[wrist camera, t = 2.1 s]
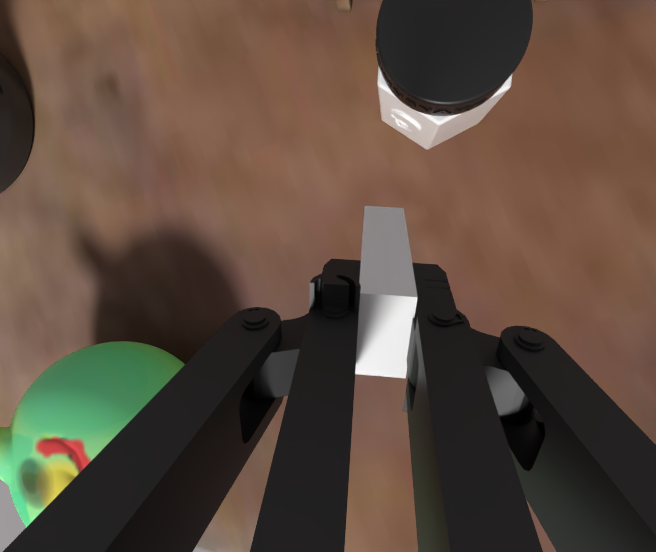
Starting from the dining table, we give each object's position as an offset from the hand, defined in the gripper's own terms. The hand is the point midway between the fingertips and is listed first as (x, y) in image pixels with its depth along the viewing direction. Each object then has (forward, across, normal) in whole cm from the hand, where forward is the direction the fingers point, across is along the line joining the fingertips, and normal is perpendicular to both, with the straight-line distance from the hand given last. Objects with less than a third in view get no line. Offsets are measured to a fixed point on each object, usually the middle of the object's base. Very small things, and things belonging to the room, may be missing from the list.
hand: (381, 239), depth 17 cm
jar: (+22, +4, +3) cm, 23 cm away
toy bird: (+12, -19, -26) cm, 34 cm away
